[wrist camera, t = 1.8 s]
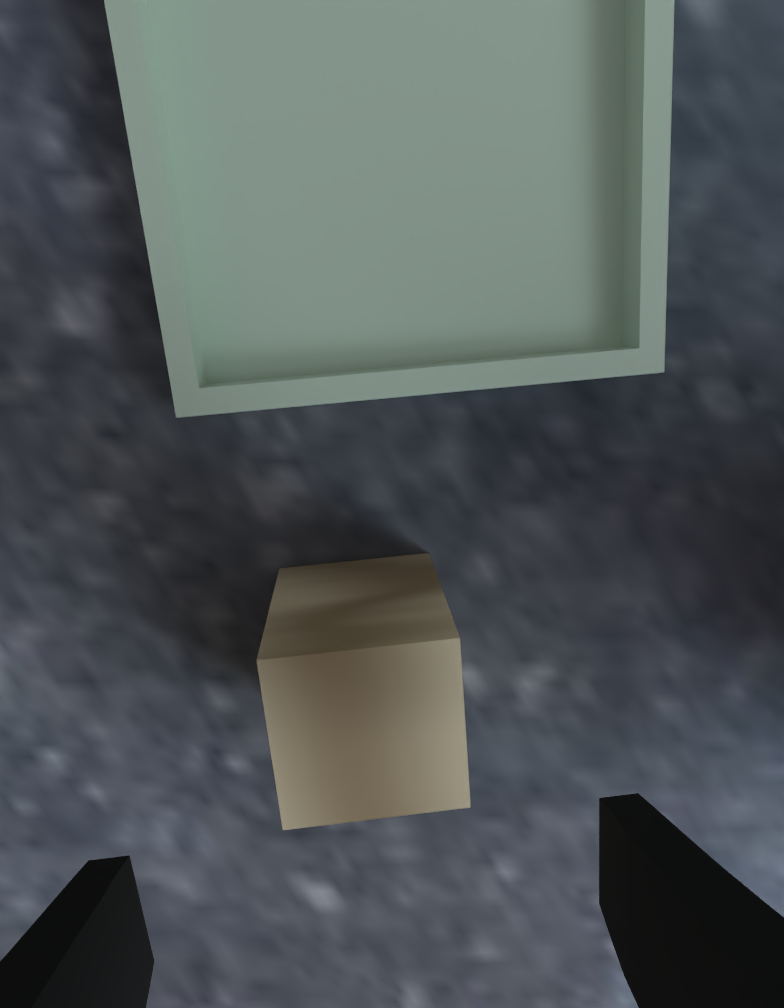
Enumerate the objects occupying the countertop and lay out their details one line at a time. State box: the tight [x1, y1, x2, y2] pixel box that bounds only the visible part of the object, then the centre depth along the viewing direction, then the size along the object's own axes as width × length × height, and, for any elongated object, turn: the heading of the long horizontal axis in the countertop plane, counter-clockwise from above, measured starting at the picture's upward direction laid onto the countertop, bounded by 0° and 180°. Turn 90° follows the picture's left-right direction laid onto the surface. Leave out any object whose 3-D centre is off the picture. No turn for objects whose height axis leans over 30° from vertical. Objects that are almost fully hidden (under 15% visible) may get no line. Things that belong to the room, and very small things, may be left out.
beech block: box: [256, 553, 471, 830], centre depth 16 cm, size 4×4×5 cm
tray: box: [104, 0, 674, 418], centre depth 15 cm, size 11×11×2 cm
